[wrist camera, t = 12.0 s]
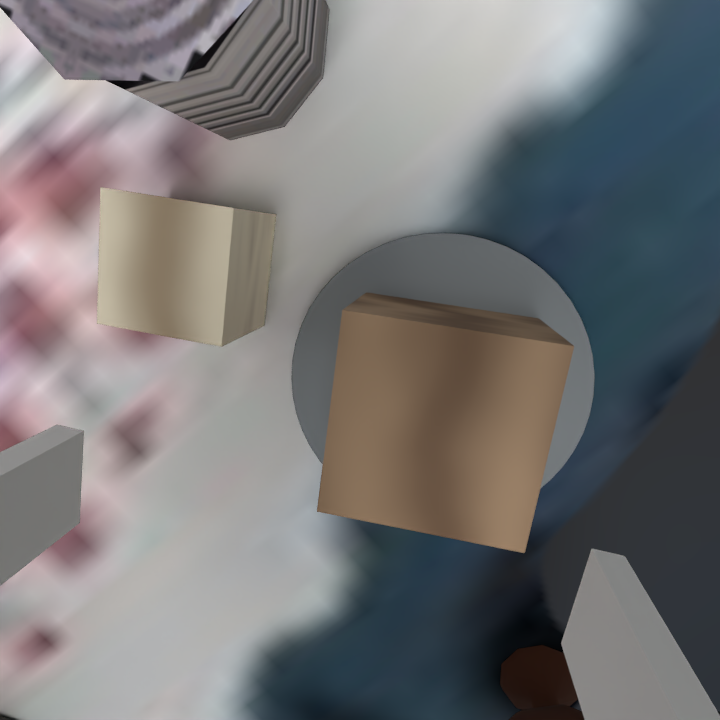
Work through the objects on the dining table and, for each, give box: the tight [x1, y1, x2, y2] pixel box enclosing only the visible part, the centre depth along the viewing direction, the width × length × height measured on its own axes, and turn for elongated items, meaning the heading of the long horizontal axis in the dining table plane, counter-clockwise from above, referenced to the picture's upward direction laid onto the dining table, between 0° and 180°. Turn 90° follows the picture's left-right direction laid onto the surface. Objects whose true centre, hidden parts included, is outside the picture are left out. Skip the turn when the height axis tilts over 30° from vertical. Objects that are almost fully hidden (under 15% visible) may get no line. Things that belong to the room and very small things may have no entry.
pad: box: [292, 233, 594, 488], centre depth 32 cm, size 18×18×2 cm
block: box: [317, 292, 574, 553], centre depth 28 cm, size 10×10×8 cm
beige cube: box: [97, 187, 276, 347], centre depth 30 cm, size 7×7×7 cm
